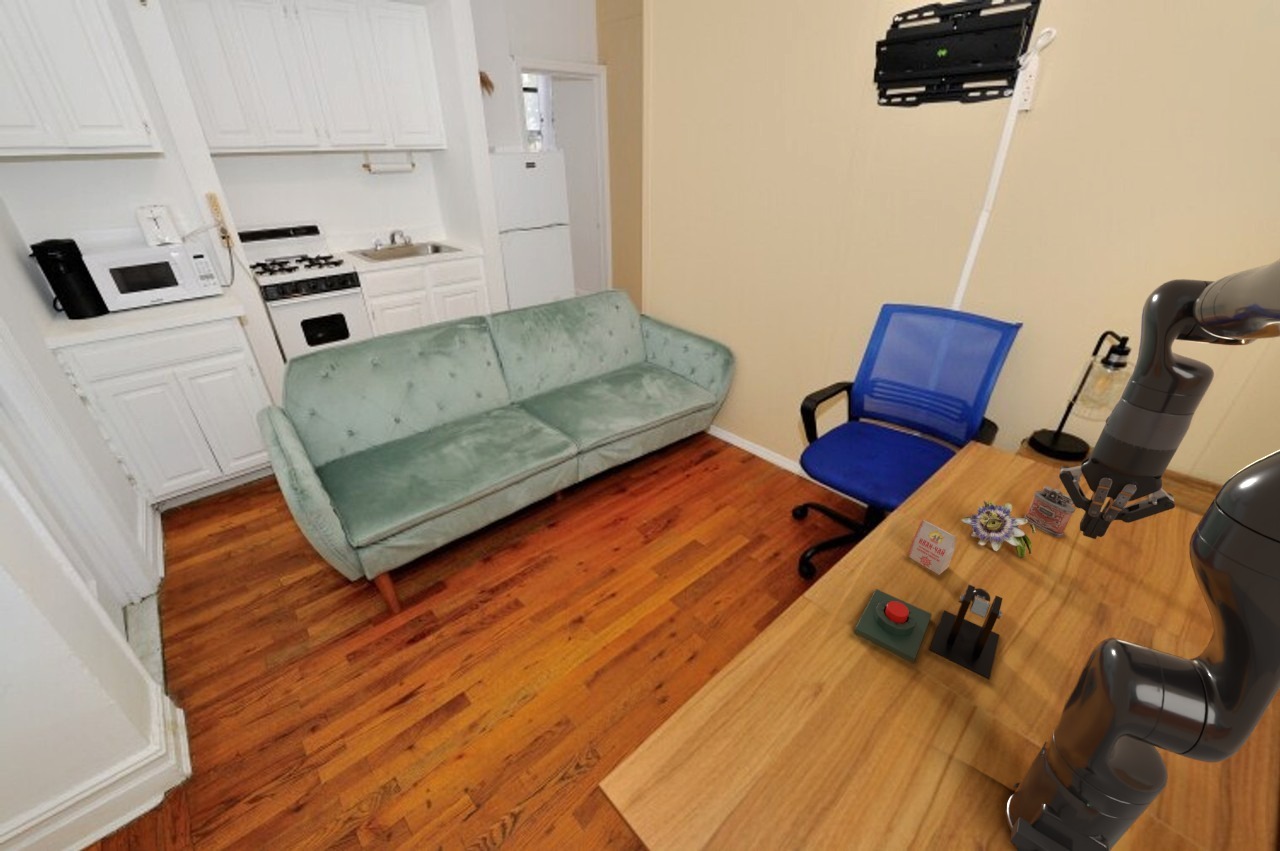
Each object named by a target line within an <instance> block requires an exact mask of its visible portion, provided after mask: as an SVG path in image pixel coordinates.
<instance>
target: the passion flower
mask: <svg viewBox="0 0 1280 851" xmlns="http://www.w3.org/2000/svg"><path fill="white" fill-rule="evenodd" d="M983 504H984V505H983V506H978V507H977V513H976V514H972V515H971V516H965V517H962V518H961V519H960V520H961V522H962V523H964V524H966V525H970V526H971V529H972V531H971V533H970V537H971V538H973V539H977V540H978V541H977V545H980V546H983V547H985V546H986V545H987V544H988V543H989V544H990V545H991V549H992V550H993V551H995V552H999V551H1000V550H1001V549H1002V547H1003V544H1004V543H1008V544H1009V545H1011V546H1012V547H1013V546H1014V548H1015V550H1016V554H1017V557H1019V558H1021V559H1022V558H1024V557H1025V556H1026V552H1027V551H1028V554H1029V555H1031V554H1032V541H1031V539H1030V537H1028V535H1027V534H1026V533H1025V532H1024V530H1022V529H1021V527H1019V526H1023V525H1026V524H1029V526H1030V528H1031V529H1032V530H1031V533H1032V534H1037V531H1036V527H1035V526H1034V524H1033V523H1032V522H1028V521H1027V519H1024V517H1020V516H1019V517H1018V516H1012V514H1011V512H1012V510H1013V504H1012V503H1011V502H1007V503H1005V504H1003V505H997V504H994V502H993V501H988V503H987V501H986V500H983ZM1030 523H1031V524H1030Z"/></svg>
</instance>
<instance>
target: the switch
mask: <svg viewBox="0 0 1280 851" xmlns="http://www.w3.org/2000/svg"><path fill="white" fill-rule="evenodd" d="M971 602H972V603H971V604H970V605H971V606H970V608H969V611H970V613H973V614H975V615H978V616H980V617H982V618H985V619H986V617H987V614H988V612H989V610H990V607H991V595H990V594H989V592H988V591H987V590H986V589H983V588H981V587H975V590H974V593H973V596H972V599H971Z"/></svg>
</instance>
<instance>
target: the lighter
mask: <svg viewBox="0 0 1280 851" xmlns="http://www.w3.org/2000/svg"><path fill="white" fill-rule="evenodd" d="M1072 505H1074V503H1073V501H1072V500H1071V498H1070V496H1069V494H1068V495H1067V494H1066V493H1062V490H1060V489H1058V488H1056V489H1054V488H1051V487H1050V486H1047V485H1044V486H1043V488H1042V490H1036V491H1034V493H1033V498H1032V501H1031V502H1030V505H1029V507H1028V509H1027V512H1026V513H1025V514H1024V517H1023V518H1024V519H1027V521H1028V522H1032V523H1033V524H1034V527H1035V529H1036V528H1037V529H1038V530H1040V531H1042V532H1044V533H1046V534H1047V535H1051V536H1053V537H1055V538H1063V536H1064V534H1065V530H1066V527H1067V525H1068V523H1069V521H1070V519H1071V517H1072V515H1073V514H1074V513H1075V512H1076V507H1075V506H1072ZM1030 524H1031V523H1029V525H1030Z"/></svg>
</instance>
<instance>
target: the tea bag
mask: <svg viewBox="0 0 1280 851" xmlns="http://www.w3.org/2000/svg"><path fill="white" fill-rule="evenodd" d="M956 540H957V536H955V535H954V534H952V533H950V532H948V531H946V530H944V529H942V528H941V527H939V526H937V525H935V524H933V523H931V522H929V521H927V520H925V519H922V520H921V522H920V524H919V526H918V528H917V530H916V532H915V534H914V535H913V538H912V540H911V544H910V547H909V550H908V554H907V557H909V558H910V559H912V560H913V561H915V562H917V563H919V564H920V565H921V566H923V567H925V568H927V569H929V570H930V571H932V572H934V573H935V574H937V575H939V576H940V575H941V574H942V573H943V572H945V571H946V570H947V569H948V568H949V566H950V564H951V561H952V559H953V556H954V553H955V550H956Z"/></svg>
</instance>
